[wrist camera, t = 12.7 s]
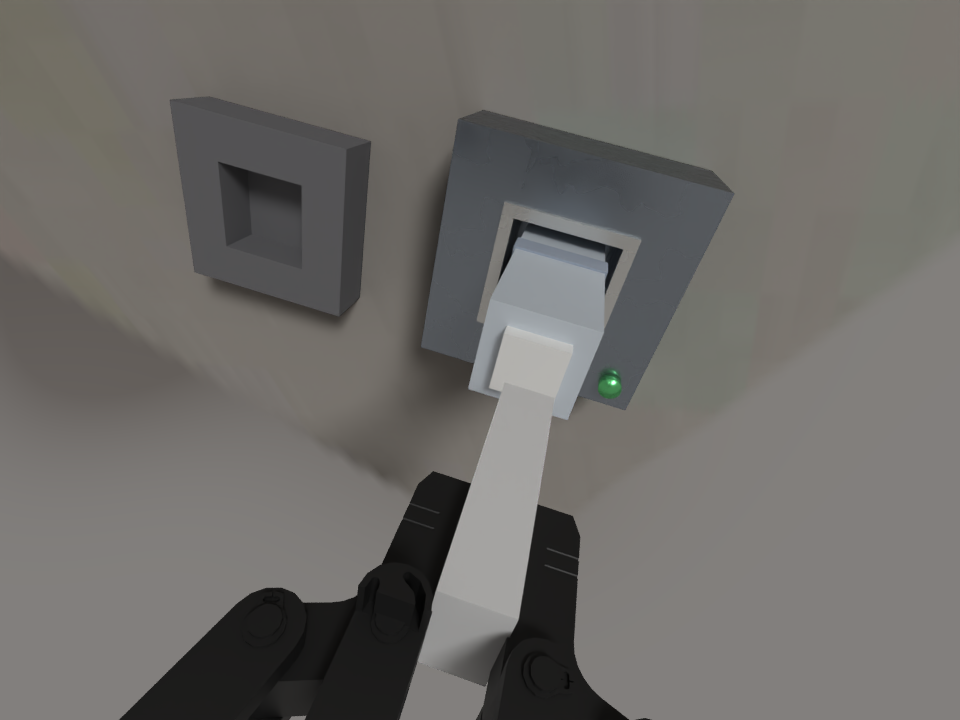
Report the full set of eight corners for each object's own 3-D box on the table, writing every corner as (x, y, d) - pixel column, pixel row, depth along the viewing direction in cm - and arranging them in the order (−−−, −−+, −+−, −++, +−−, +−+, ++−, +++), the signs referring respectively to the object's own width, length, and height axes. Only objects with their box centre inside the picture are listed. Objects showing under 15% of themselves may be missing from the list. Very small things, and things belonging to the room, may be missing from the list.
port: (445, 309, 31) (417, 352, 27) (483, 109, 25) (454, 120, 20) (622, 363, 30) (625, 417, 26) (712, 170, 24) (737, 197, 19)
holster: (225, 256, 33) (194, 272, 31) (209, 96, 27) (169, 99, 25) (359, 297, 32) (338, 316, 30) (370, 141, 27) (346, 149, 24)
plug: (515, 276, 28) (461, 399, 18) (533, 207, 26) (484, 302, 16) (582, 296, 28) (568, 432, 18) (607, 228, 26) (607, 339, 15)
